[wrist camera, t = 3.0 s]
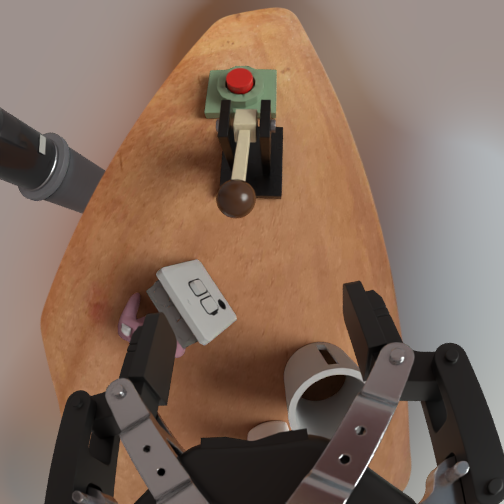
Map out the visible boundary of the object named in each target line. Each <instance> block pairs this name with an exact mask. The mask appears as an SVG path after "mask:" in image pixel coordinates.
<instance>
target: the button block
mask: <svg viewBox="0 0 504 504" xmlns="http://www.w3.org/2000/svg"><path fill="white" fill-rule="evenodd" d="M237 68H244V69H247V70H249V71H250V72H251V74H252V76H253V87H252V88H251V90H250V91H248V92H247V93H244V94H235V93H233V92H231V91H230V90H229V89H228V86H227V82H226V76H227V74H228V73H229V72H230V71H232V70H233V69H237ZM276 76H277V70H265V69H254V68H251V67H249V66H235V67H233V68H230V69H228V70H212V71H210V75H209V82H208V89H207V97H206V104H205V112H204V113H205V116H206V118H219V116H220V107H221V100H231V103H232V107H233V111H234V115H235V112H236V109H257V118H260V107H261V100H271V118H276Z"/></svg>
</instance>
